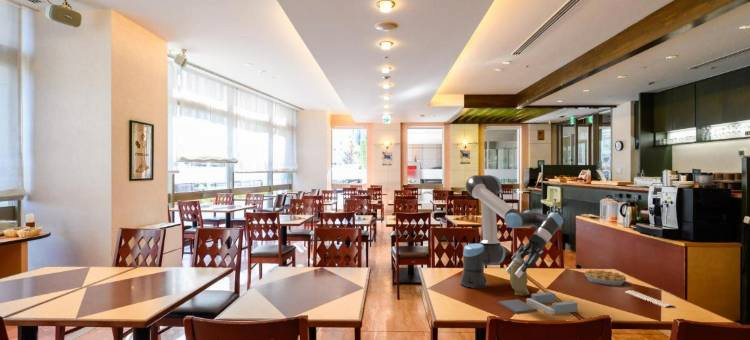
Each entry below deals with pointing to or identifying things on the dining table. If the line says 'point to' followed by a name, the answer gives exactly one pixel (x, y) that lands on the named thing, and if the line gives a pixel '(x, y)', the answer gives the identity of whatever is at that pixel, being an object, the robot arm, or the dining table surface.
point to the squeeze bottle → (514, 280)
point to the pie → (605, 277)
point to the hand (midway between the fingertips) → (512, 274)
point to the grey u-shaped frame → (556, 307)
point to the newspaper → (648, 298)
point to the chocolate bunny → (522, 292)
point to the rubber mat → (517, 306)
